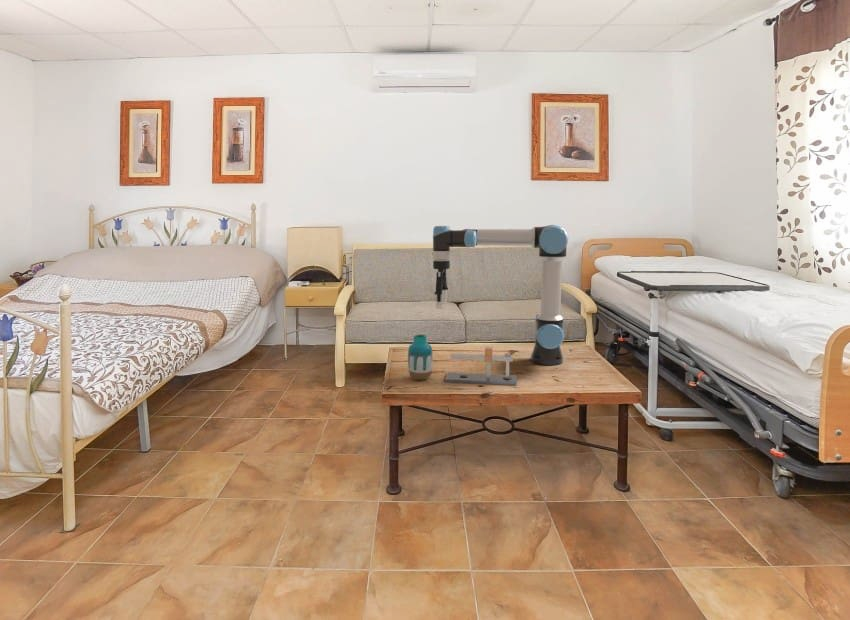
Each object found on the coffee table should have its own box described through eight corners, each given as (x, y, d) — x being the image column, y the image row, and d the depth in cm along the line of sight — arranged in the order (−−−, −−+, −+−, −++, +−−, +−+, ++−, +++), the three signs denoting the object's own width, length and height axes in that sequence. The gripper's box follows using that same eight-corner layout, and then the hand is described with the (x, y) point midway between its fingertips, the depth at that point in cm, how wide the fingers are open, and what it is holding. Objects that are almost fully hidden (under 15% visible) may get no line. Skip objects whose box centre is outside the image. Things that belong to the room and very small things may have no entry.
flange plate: (516, 378, 228) (517, 375, 228) (516, 385, 218) (516, 382, 218) (448, 374, 233) (448, 371, 233) (444, 381, 223) (444, 378, 223)
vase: (407, 375, 232) (407, 333, 229) (431, 374, 233) (431, 332, 230) (408, 383, 222) (408, 338, 218) (433, 382, 223) (433, 338, 219)
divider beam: (512, 377, 224) (512, 353, 222) (512, 379, 222) (512, 355, 220) (451, 374, 229) (451, 351, 227) (450, 376, 226) (450, 352, 224)
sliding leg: (492, 375, 226) (492, 346, 224) (491, 377, 223) (492, 349, 220) (485, 374, 227) (485, 346, 224) (484, 377, 223) (485, 348, 221)
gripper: (437, 257, 253) (437, 301, 257) (428, 262, 229) (428, 310, 232) (452, 257, 251) (452, 301, 255) (445, 262, 227) (445, 311, 231)
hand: (441, 306), depth 244 cm, fingers open, 13 cm apart
